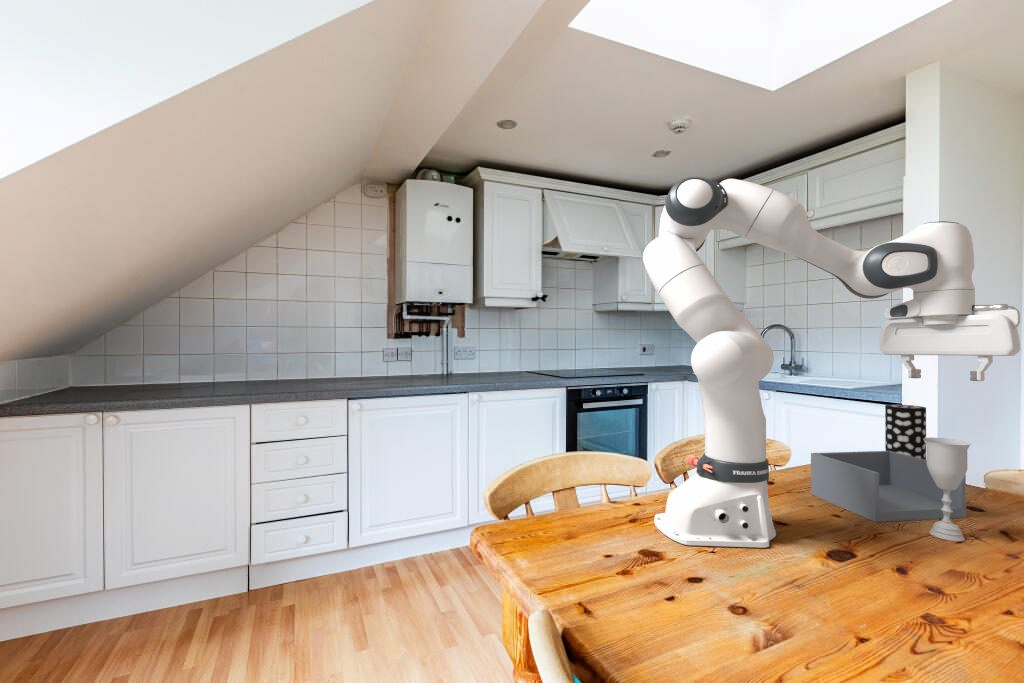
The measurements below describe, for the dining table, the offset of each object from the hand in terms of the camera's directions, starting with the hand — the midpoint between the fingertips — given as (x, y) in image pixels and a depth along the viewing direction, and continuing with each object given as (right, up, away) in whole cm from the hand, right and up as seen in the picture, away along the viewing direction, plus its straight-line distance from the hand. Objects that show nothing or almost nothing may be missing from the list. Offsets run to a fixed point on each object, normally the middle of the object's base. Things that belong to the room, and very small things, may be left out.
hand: (944, 379), depth 92 cm
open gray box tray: (+1, -30, +17) cm, 34 cm away
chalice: (0, -30, 0) cm, 30 cm away
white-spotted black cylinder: (+20, -30, +34) cm, 50 cm away
